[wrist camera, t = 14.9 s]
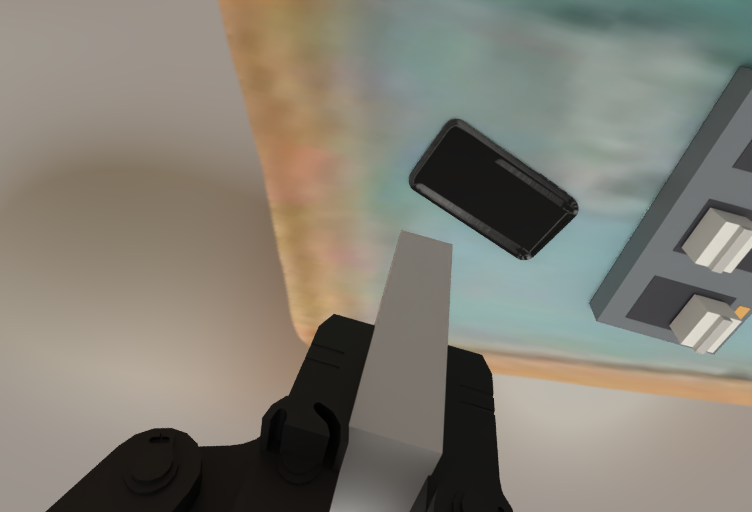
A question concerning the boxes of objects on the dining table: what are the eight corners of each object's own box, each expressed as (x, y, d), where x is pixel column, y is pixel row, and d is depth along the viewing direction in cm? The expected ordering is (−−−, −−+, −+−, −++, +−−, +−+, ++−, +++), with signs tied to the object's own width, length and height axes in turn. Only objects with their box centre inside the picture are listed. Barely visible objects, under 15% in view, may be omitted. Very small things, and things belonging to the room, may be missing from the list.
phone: (526, 264, 44) (404, 184, 42) (524, 258, 45) (405, 179, 43) (585, 207, 40) (453, 115, 38) (582, 202, 41) (453, 112, 39)
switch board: (740, 66, 33) (763, 72, 30) (896, 107, 33) (934, 117, 30) (589, 303, 46) (596, 321, 43) (700, 334, 46) (714, 355, 43)
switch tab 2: (694, 294, 40) (711, 315, 37) (726, 303, 40) (745, 325, 37) (669, 325, 42) (683, 348, 39) (699, 334, 42) (715, 357, 39)
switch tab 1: (710, 207, 36) (730, 225, 33) (746, 217, 36) (769, 235, 33) (681, 247, 38) (698, 267, 35) (715, 256, 38) (734, 277, 35)
